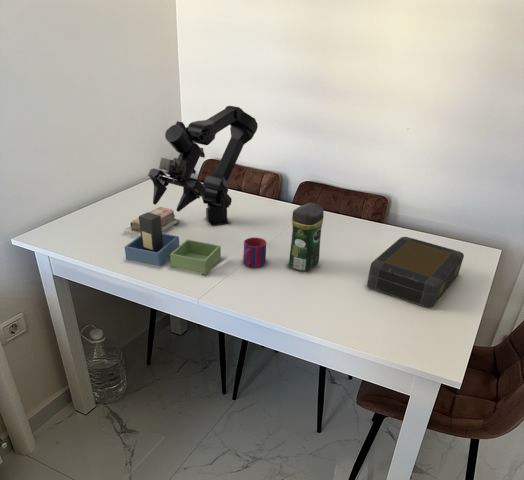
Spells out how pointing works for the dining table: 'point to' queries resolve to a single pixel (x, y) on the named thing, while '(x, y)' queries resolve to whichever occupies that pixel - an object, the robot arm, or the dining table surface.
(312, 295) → the dining table surface
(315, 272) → the dining table surface
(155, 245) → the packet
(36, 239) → the dining table surface
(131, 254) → the blue bin
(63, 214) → the dining table surface
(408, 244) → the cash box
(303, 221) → the coffee jar
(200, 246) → the green bin
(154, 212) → the packaged product
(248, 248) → the red cup
